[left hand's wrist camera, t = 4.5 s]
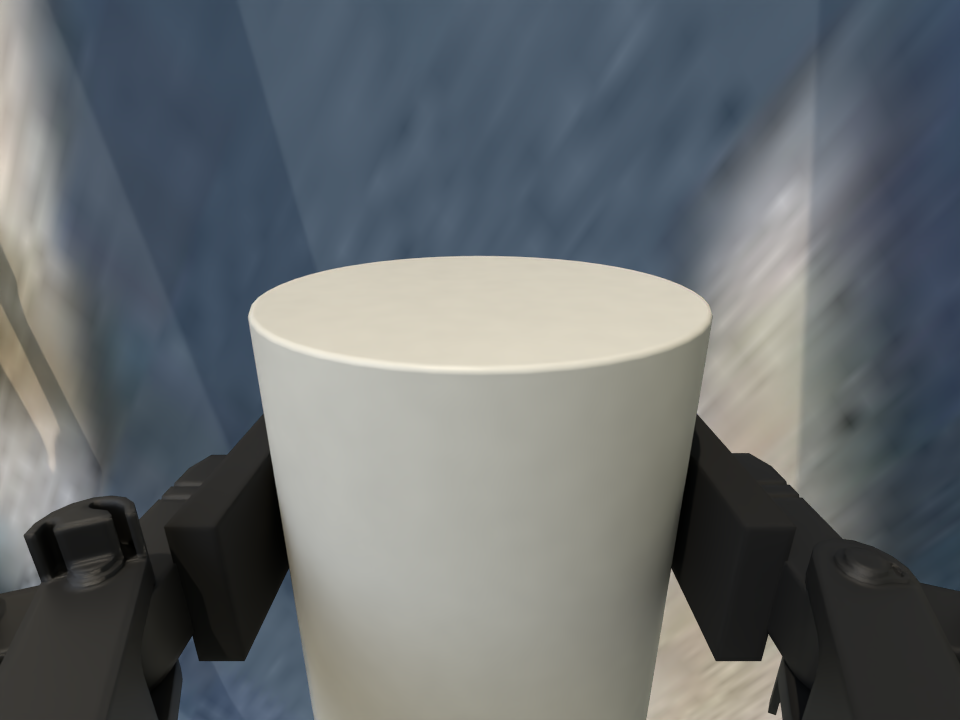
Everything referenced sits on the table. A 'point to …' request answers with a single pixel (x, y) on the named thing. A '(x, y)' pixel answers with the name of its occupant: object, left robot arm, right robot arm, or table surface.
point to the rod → (480, 480)
